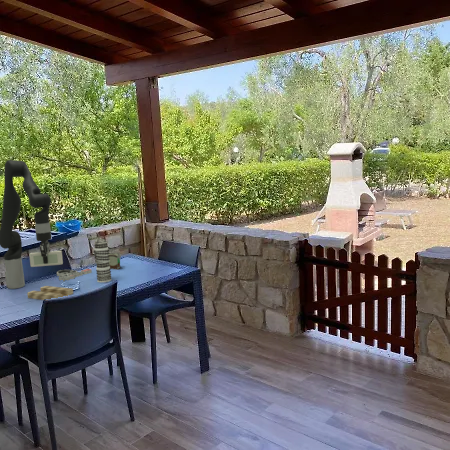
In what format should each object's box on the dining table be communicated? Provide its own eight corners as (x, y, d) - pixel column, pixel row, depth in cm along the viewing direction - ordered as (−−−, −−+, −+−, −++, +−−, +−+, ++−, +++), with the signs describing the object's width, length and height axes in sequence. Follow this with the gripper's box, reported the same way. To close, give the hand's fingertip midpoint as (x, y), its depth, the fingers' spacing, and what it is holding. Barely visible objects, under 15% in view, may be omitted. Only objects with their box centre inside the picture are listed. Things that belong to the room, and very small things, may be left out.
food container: (126, 267, 302) (124, 253, 300) (119, 270, 297) (117, 255, 295) (112, 266, 308) (111, 251, 307) (106, 268, 303) (104, 253, 302)
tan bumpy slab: (27, 298, 246) (27, 292, 246) (46, 290, 258) (45, 285, 257) (55, 301, 238) (55, 295, 237) (73, 293, 250) (72, 288, 249)
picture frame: (30, 267, 242) (29, 254, 241) (32, 265, 245) (30, 252, 244) (61, 264, 245) (60, 251, 243) (63, 262, 248) (61, 250, 247)
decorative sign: (63, 278, 276) (46, 273, 288) (63, 282, 276) (46, 277, 289) (94, 269, 292) (76, 266, 305) (94, 273, 293) (77, 269, 305)
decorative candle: (95, 283, 268) (91, 242, 264) (97, 279, 277) (93, 239, 273) (111, 281, 270) (107, 240, 266) (112, 277, 279) (108, 237, 275)
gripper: (48, 233, 236) (51, 265, 239) (53, 228, 249) (56, 259, 252) (32, 234, 234) (36, 266, 237) (38, 229, 248) (42, 260, 251)
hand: (46, 262), depth 245 cm, fingers closed on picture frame, 3 cm apart
